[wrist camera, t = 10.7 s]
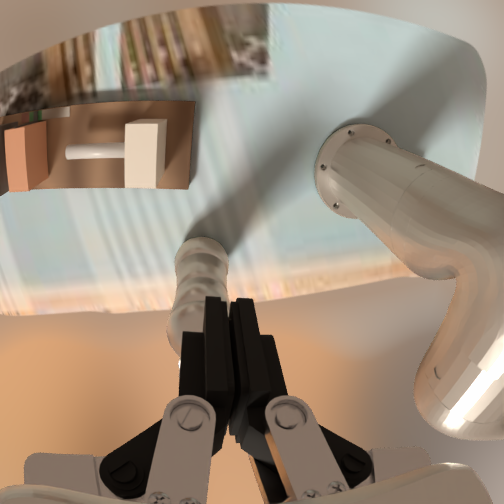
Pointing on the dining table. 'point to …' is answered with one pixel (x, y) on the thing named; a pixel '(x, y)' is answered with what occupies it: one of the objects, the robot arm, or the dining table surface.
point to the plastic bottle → (196, 286)
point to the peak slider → (26, 155)
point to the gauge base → (105, 131)
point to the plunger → (132, 152)
